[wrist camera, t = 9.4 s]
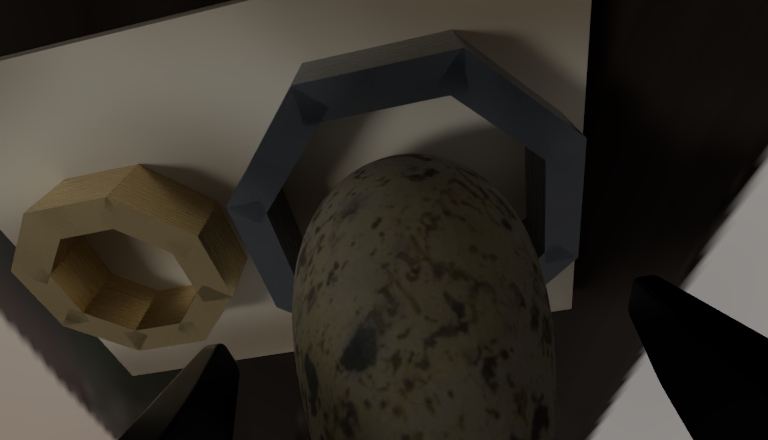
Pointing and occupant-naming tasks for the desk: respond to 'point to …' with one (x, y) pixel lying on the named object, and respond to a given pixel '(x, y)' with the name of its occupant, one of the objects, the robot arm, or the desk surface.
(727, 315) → the robot arm
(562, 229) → the collar
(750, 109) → the desk surface
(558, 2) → the fitting board
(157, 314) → the narrow collar
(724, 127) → the desk surface
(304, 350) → the decorative egg
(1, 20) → the desk surface
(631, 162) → the desk surface
